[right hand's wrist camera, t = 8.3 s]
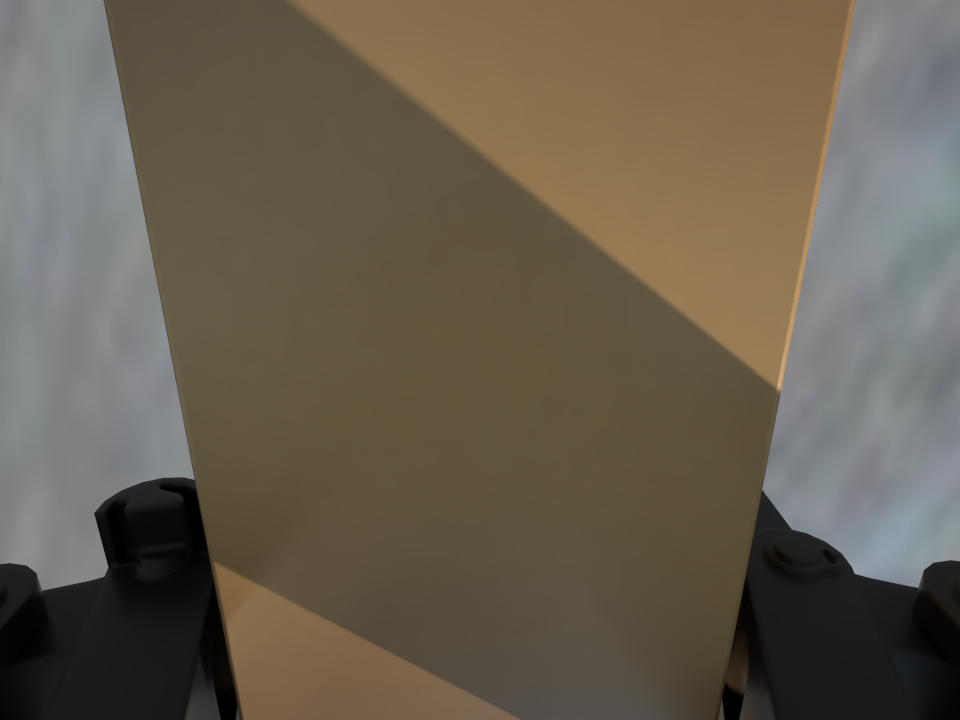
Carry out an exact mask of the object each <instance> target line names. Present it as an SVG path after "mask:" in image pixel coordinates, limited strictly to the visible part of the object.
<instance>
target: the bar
mask: <svg viewBox="0 0 960 720" xmlns="http://www.w3.org/2000/svg"><path fill="white" fill-rule="evenodd" d="M855 1H856V0H104V4H105V10H106V15H107V20H108V25H109V31H110V36H111V41H112V47H113V52H114V57H115V62H116V68H117V73H118V78H119V83H120V89H121V94H122V99H123V104H124V110H125V115H126V120H127V126H128V131H129V136H130V141H131V147H132V152H133V157H134V162H135V168H136V173H137V178H138V183H139V189H140V194H141V199H142V205H143V210H144V215H145V220H146V226H147V231H148V236H149V241H150V247H151V252H152V257H153V262H154V268H155V273H156V278H157V284H158V289H159V294H160V299H161V305H162V310H163V315H164V320H165V326H166V331H167V336H168V341H169V347H170V352H171V357H172V362H173V368H174V373H175V378H176V384H177V389H178V394H179V399H180V405H181V410H182V415H183V420H184V426H185V431H186V436H187V441H188V447H189V452H190V457H191V463H192V468H193V473H194V478H195V484H196V489H197V494H198V499H199V505H200V510H201V515H202V520H203V526H204V531H205V536H206V542H207V547H208V552H209V557H210V563H211V568H212V573H213V578H214V584H215V589H216V594H217V599H218V605H219V610H220V615H221V621H222V626H223V631H224V636H225V642H226V647H227V652H228V657H229V663H230V668H231V673H232V678H233V684H234V689H235V694H236V700H237V705H238V710H239V715H240V720H718V718H719V712H720V707H721V702H722V697H723V691H724V686H725V681H726V676H727V670H728V665H729V660H730V655H731V650H732V644H733V639H734V634H735V629H736V623H737V618H738V613H739V608H740V603H741V597H742V592H743V587H744V582H745V576H746V571H747V566H748V561H749V555H750V550H751V545H752V540H753V535H754V529H755V524H756V519H757V514H758V508H759V503H760V498H761V493H762V488H763V482H764V477H765V472H766V467H767V461H768V456H769V451H770V446H771V440H772V435H773V430H774V425H775V420H776V414H777V409H778V404H779V399H780V393H781V388H782V383H783V378H784V373H785V367H786V362H787V357H788V352H789V346H790V341H791V336H792V331H793V325H794V320H795V315H796V310H797V305H798V299H799V294H800V289H801V284H802V278H803V273H804V268H805V263H806V258H807V252H808V247H809V242H810V237H811V231H812V226H813V221H814V216H815V210H816V205H817V200H818V195H819V190H820V184H821V179H822V174H823V169H824V163H825V158H826V153H827V148H828V143H829V137H830V132H831V127H832V122H833V116H834V111H835V106H836V101H837V95H838V90H839V85H840V80H841V75H842V69H843V64H844V59H845V54H846V48H847V43H848V38H849V33H850V28H851V22H852V17H853V12H854V7H855Z"/></svg>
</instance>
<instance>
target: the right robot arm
mask: <svg viewBox="0 0 960 720" xmlns="http://www.w3.org/2000/svg"><path fill="white" fill-rule="evenodd" d="M94 514H95V518H96V522H97V525H98V529H99V533H100V537H101V540H102V544H103V548H104V552H105V556H106V559H107V563H108V567H109V568H108V570H107V573H106V575H105V577H102V578H99V579H95V580H91V581H87V582H82V583H78V584H73V585H68V586H63V587H58V588H54V589H49V590H44V591H42V590H41V586H40V583H39V580H38V577H37V574H36V573H35V572H34V571H33V570H32V569H30V568H29V567H28V566H25V565H18V564H12V563H7V564H0V720H240V715H239V710H238V705H237V700H236V694H235V689H234V684H233V678H232V673H231V668H230V663H229V657H228V652H227V647H226V642H225V636H224V631H223V626H222V621H221V615H220V610H219V605H218V599H217V594H216V589H215V584H214V578H213V573H212V568H211V563H210V557H209V552H208V547H207V542H206V536H205V531H204V526H203V520H202V515H201V510H200V505H199V499H198V494H197V489H196V484H195V480H192V479H188V478H183V477H181V478H161V479H156V480H152V481H147V482H142V483H140V484H137V485H134V486H132V487H129V488H127V489H124V490H122V491H120V492H118V493H117V494H115V495H114V496H112V497H111V498H109V499H107V500H106V501H104V503H103V504H102V505H101V506H100V507H99V508H98V509H97V511H96V512H95V513H94ZM718 720H960V561H952V560H950V561H943V562H936V563H933V564H932V565H930V566H929V567H928V568H926V569H925V570H924V572H923V575H922V578H921V582H920V585H919V588H915V587H910V586H905V585H900V584H896V583H891V582H886V581H881V580H876V579H871V578H867V577H864V576H860V575H856V574H854V571H853V569H852V567H851V566H850V564H849V563H848V561H847V560H846V559H845V557H844V556H843V555H842V554H841V553H840V552H839V551H837V550H836V549H835V548H833V547H832V546H830V545H829V544H828V543H826V542H825V541H822V540H820V539H818V538H816V537H813V536H811V535H809V534H807V533H803V532H799V531H795V530H792V529H791V528H790V527H789V525H788V524H787V523H786V521H785V520H784V519H783V517H782V516H781V515H780V513H779V512H778V511H777V509H776V508H775V507H774V505H773V504H772V503H771V501H770V500H769V499H768V497H767V496H766V495H765V493H764V492H763V491H762V493H761V498H760V503H759V508H758V514H757V519H756V524H755V529H754V535H753V540H752V545H751V550H750V555H749V561H748V566H747V571H746V576H745V582H744V587H743V592H742V597H741V603H740V608H739V613H738V618H737V623H736V629H735V634H734V639H733V644H732V650H731V655H730V660H729V665H728V670H727V676H726V681H725V686H724V691H723V697H722V702H721V707H720V712H719V718H718Z"/></svg>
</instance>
